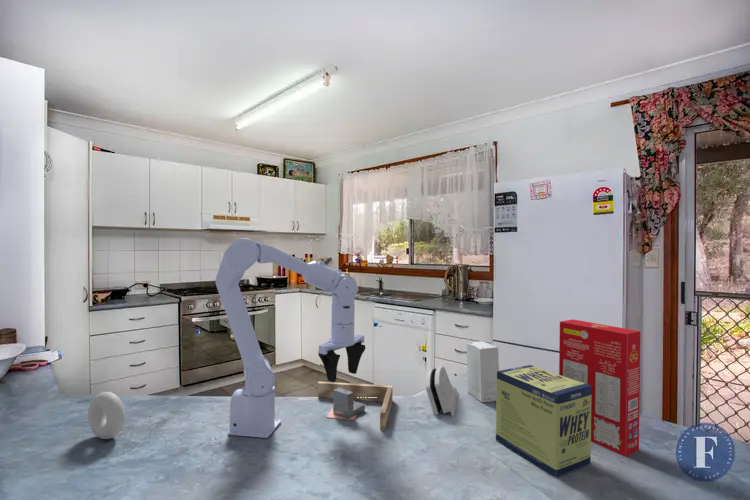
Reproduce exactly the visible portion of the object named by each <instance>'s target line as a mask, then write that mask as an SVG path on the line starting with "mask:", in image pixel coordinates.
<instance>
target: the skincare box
mask: <svg viewBox="0 0 750 500" xmlns="http://www.w3.org/2000/svg"><path fill="white" fill-rule="evenodd" d="M499 359H500V358H499V346H496V345H493V344H491V343H488V342H486V341H473V342H466V362H467V365H466V366H467V393H468V394H470V395H471V396H472V397H474V398H475V399H477V400H478V401H480V403H488V402H491V403H492V402H496V399H497V371H500V364H499V362H500V361H499Z"/></svg>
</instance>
